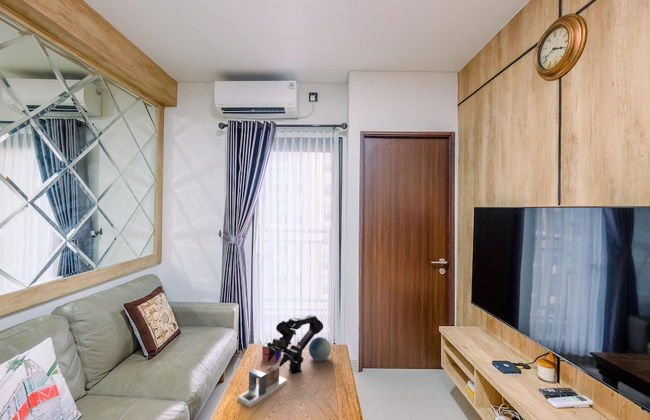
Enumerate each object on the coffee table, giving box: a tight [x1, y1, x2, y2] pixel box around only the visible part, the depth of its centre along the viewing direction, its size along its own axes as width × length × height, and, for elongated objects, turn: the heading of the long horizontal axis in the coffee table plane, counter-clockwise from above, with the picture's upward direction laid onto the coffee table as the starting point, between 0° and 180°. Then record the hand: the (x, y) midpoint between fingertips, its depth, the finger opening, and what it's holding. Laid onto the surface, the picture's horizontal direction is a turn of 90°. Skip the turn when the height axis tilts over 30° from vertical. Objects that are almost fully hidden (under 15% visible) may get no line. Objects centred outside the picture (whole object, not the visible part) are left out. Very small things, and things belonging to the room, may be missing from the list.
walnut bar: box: [262, 364, 280, 389], centre depth 182 cm, size 10×4×8 cm, turn 143°
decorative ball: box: [308, 336, 332, 362], centre depth 214 cm, size 15×15×15 cm
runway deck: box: [237, 375, 288, 408], centre depth 178 cm, size 28×10×2 cm, turn 144°
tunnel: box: [248, 368, 266, 396], centre depth 174 cm, size 4×9×10 cm, turn 54°
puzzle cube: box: [261, 339, 282, 363], centre depth 215 cm, size 10×10×10 cm
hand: (273, 364), depth 184 cm, fingers open, 9 cm apart
